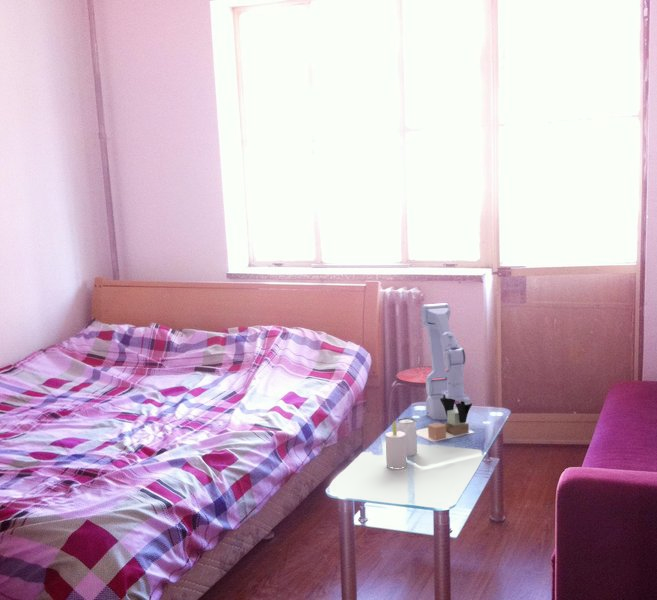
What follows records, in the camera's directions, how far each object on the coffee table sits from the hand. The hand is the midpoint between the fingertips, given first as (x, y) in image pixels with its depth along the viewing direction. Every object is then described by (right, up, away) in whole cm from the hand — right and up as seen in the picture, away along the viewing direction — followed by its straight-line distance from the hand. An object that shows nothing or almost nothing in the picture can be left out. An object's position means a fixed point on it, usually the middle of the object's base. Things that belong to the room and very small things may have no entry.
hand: (456, 419), depth 272 cm
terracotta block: (-7, -5, -4) cm, 10 cm away
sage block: (0, -1, 0) cm, 1 cm away
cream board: (-5, -5, +2) cm, 7 cm away
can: (-19, -9, -18) cm, 28 cm away
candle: (-24, -11, -27) cm, 37 cm away
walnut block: (0, -4, +1) cm, 4 cm away
